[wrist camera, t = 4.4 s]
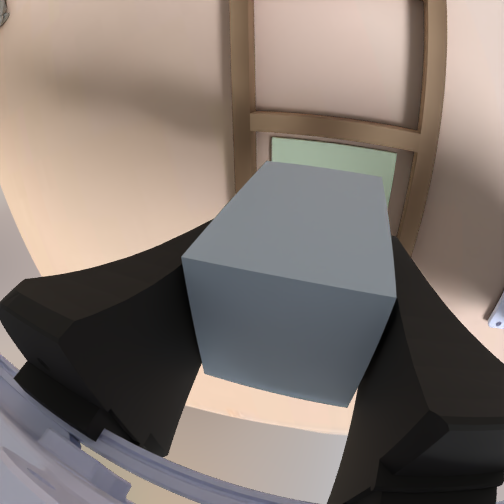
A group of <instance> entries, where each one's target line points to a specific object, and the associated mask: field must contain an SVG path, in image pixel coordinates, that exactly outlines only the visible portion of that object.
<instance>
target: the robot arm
mask: <svg viewBox="0 0 504 504" xmlns="http://www.w3.org/2000/svg"><path fill="white" fill-rule="evenodd" d="M212 221H213V219H212V220H210V221H208V222H206V223H204V224H202V225H200V226H198V227H196V228H194V229H193V230H191V231H189V232H187V233H184V234H182V235H180V236H178V237H176V238H174V239H172V240H169V241H167V242H165V243H163V244H161V245H158V246H156V247H154V248H151V249H149V250H146V251H144V252H141V253H138V254H136V255H133V256H130V257H127V258H124V259H121V260H117V261H114V262H111V263H107V264H104V265H101V266H97V267H93V268H89V269H85V270H80V271H75V272H71V273H66V274H60V275H53V276H46V277H38V278H30V279H25V280H23V281H22V282H20V283H19V284H18V285H17V286H16V287H15V288H14V289H13V290H12V291H11V292H10V293H9V294H8V295H6V296H5V297H4V298H3V299H2V300H1V301H0V320H1V323H2V325H3V326H4V328H5V329H6V331H7V333H8V334H9V336H10V337H11V339H12V340H13V341H14V343H15V344H16V346H17V347H18V349H19V350H20V351H21V353H22V354H23V355H24V357H25V358H26V359H27V362H26V363H25V365H24V366H23V367H22V368H21V369H20V370H19V369H17V368H16V367H15V366H14V365H13V364H11V363H10V362H9V361H8V360H7V359H6V358H5V357H3V356H2V355H1V354H0V504H135V503H133V502H132V501H130V500H128V499H126V495H127V493H128V492H129V490H130V488H131V484H130V483H129V482H127V481H126V480H124V479H123V478H121V477H119V476H118V475H116V474H115V473H113V472H112V471H110V470H109V469H108V468H106V467H105V466H104V465H102V464H101V463H100V462H99V461H97V460H96V459H94V458H93V457H91V456H90V455H88V454H87V453H85V452H84V451H83V450H81V445H80V443H82V444H83V445H85V446H86V447H88V448H90V449H91V450H93V451H95V452H96V453H98V454H99V455H101V456H103V457H104V458H106V459H108V460H109V461H111V462H113V463H115V464H116V465H118V466H120V467H122V468H123V469H126V470H127V471H129V472H131V473H133V474H135V475H137V476H139V477H141V478H143V479H145V480H147V481H149V482H151V483H153V484H155V485H157V486H159V487H162V488H164V489H166V490H169V491H171V492H173V493H175V494H178V495H180V496H183V497H185V498H188V499H190V500H193V501H195V502H198V503H201V504H316V503H311V502H305V501H300V500H294V499H290V498H285V497H280V496H276V495H271V494H268V493H264V492H260V491H256V490H252V489H248V488H245V487H242V486H238V485H235V484H232V483H228V482H225V481H222V480H219V479H216V478H213V477H210V476H207V475H205V474H202V473H199V472H197V471H194V470H191V469H189V468H186V467H183V466H181V465H179V464H176V463H173V462H171V461H169V460H167V459H165V458H162V457H165V456H167V455H168V453H169V450H170V446H171V443H172V440H173V437H174V434H175V431H176V428H177V425H178V422H179V419H180V417H181V414H182V411H183V408H184V406H185V403H186V400H187V398H188V395H189V393H190V390H191V388H192V385H193V383H194V380H195V378H196V375H197V373H198V371H199V368H200V366H201V364H202V360H201V356H200V351H199V347H198V342H197V337H196V333H195V328H194V323H193V318H192V313H191V308H190V303H189V298H188V292H187V287H186V282H185V276H184V270H183V265H182V259H181V257H182V255H183V254H184V253H185V252H186V251H187V249H188V248H189V247H190V246H191V245H192V244H193V242H194V241H195V240H196V239H197V238H198V237H199V236H200V234H201V233H202V232H203V231H204V230H205V229H206V227H207V226H208V225H209V224H210V223H211V222H212ZM391 241H392V250H393V259H394V270H395V282H396V297H397V298H396V300H395V303H394V306H393V308H392V311H391V314H390V316H389V319H388V321H387V324H386V326H385V328H384V331H383V333H382V336H381V338H380V340H379V343H378V345H377V347H376V350H375V352H374V354H373V356H372V358H371V361H370V363H369V365H368V367H367V369H366V371H365V373H364V376H363V378H362V380H361V382H360V384H359V386H358V390H357V396H356V401H355V406H354V411H353V416H352V420H351V425H350V429H349V433H348V438H347V441H346V445H345V449H344V453H343V456H342V460H341V463H340V467H339V470H338V473H337V476H336V479H335V483H334V485H333V488H332V491H331V495H330V497H329V499H328V502H327V504H504V501H499V502H496V495H497V486H500V485H502V484H503V482H504V364H503V363H502V362H501V361H500V360H499V359H498V358H496V357H495V356H494V355H493V354H492V353H491V352H490V351H489V350H488V349H487V348H486V347H484V346H483V345H482V344H481V343H480V342H479V341H478V340H477V339H476V338H475V337H474V336H473V335H472V334H471V333H470V332H469V331H468V329H467V328H466V327H465V326H464V325H463V324H462V323H461V322H460V321H459V320H458V319H457V317H456V316H455V315H454V314H453V313H452V312H451V311H450V309H449V308H448V307H447V306H446V305H445V304H444V302H443V301H442V300H441V299H440V297H439V296H438V295H437V293H436V292H435V291H434V289H433V288H432V287H431V286H430V284H429V283H428V281H427V280H426V279H425V277H424V276H423V275H422V273H421V272H420V270H419V269H418V267H417V266H416V265H415V263H414V262H413V260H412V259H411V257H410V256H409V254H408V253H407V251H406V250H405V248H404V247H403V245H402V244H401V242H400V241H399V239H398V238H397V237H396V236H391ZM488 325H489V327H492V328H501V329H504V292H503V294H502V296H501V298H500V300H499V301H498V303H497V305H496V307H495V309H494V310H493V312H492V314H491V316H490V317H489V319H488Z"/></svg>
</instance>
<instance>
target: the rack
mask: <svg viewBox="0 0 504 504" xmlns="http://www.w3.org/2000/svg"><path fill="white" fill-rule="evenodd" d="M421 1H424V62H423V79H422V92H421V103H420V112H419V121H418V129H417V130H413V129H408V128H403V127H398V126H392V125H387V124H381V123H375V122H369V121H362V120H355V119H348V118H340V117H332V116H323V115H312V114H301V113H288V112H271V111H256V106H255V45H254V0H229V11H230V52H231V86H232V115H233V142H234V167H235V191H236V194H237V193H238V191H239V190H240V189H241V188H242V187H243V186H244V185H245V184H246V183H247V182H248V181H249V179H250V178H251V177H252V176H253V175H254V174H255V173H256V131H258V132H274V133H287V134H298V135H308V136H318V137H326V138H335V139H342V140H350V141H356V142H363V143H369V144H376V145H381V146H387V147H393V148H398V149H403V150H408V151H413V152H414V156H413V162H412V168H411V174H410V179H409V184H408V190H407V195H406V199H405V204H404V209H403V213H402V217H401V222H400V226H399V230H398V234H397V238H398V239H399V241H400V242H401V244H402V245H403V247H404V248H405V250H406V251H407V253H408V254H409V256H410V257H411V255H412V252H413V248H414V245H415V242H416V238H417V234H418V231H419V227H420V223H421V220H422V216H423V212H424V208H425V204H426V199H427V195H428V191H429V186H430V182H431V177H432V172H433V167H434V161H435V156H436V150H437V144H438V138H439V131H440V124H441V117H442V108H443V99H444V89H445V76H446V58H447V4H446V0H421ZM396 157H397V153H394V152H389V151H383V150H377V149H371V148H365V147H359V146H352V145H345V144H337V143H329V142H321V141H312V140H303V139H292V138H281V137H272V161H273V162H282V163H291V164H299V165H307V166H315V167H322V168H329V169H336V170H343V171H349V172H355V173H361V174H367V175H373V176H378V177H382V181H383V186H384V192H385V198H386V204H387V209H388V204H389V199H390V193H391V188H392V182H393V176H394V170H395V164H396Z"/></svg>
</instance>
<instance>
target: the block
mask: <svg viewBox="0 0 504 504" xmlns="http://www.w3.org/2000/svg"><path fill="white" fill-rule="evenodd" d="M181 259H182V265H183V270H184V276H185V282H186V287H187V292H188V298H189V303H190V308H191V313H192V318H193V323H194V328H195V333H196V337H197V342H198V347H199V351H200V356H201V360H202V365H203V369H204V373H205V374H207V375H211V376H214V377H217V378H221V379H224V380H227V381H231V382H234V383H238V384H241V385H245V386H249V387H253V388H256V389H260V390H264V391H268V392H272V393H276V394H281V395H285V396H289V397H294V398H299V399H303V400H308V401H313V402H318V403H323V404H329V405H334V406H340V407H346V408H347V407H348V405H349V403H350V401H351V400H352V398H353V396H354V394H355V392H356V390H357V388H358V386H359V384H360V382H361V380H362V378H363V376H364V373H365V371H366V369H367V367H368V365H369V363H370V361H371V358H372V356H373V354H374V352H375V350H376V347H377V345H378V343H379V340H380V338H381V336H382V333H383V331H384V328H385V326H386V324H387V321H388V319H389V316H390V314H391V311H392V308H393V306H394V303H395V300H396V298H397V297H396V282H395V270H394V259H393V250H392V241H391V233H390V225H389V218H388V211H387V204H386V198H385V192H384V186H383V181H382V177H378V176H373V175H367V174H361V173H355V172H349V171H343V170H336V169H329V168H322V167H315V166H307V165H299V164H291V163H282V162H273V161H266V162H265V163H264V164H263V165H262V166H261V168H260V169H259V170H258V171H257V172H256V173H255V174H254V175H253V176H252V177H251V178H250V179H249V181H248V182H247V183H246V184H245V185H244V186H243V187H242V188H241V189H240V190H239V191H238V193H237V194H236V195H235V196H234V197H233V198H232V199H231V200H230V201H229V203H228V204H227V205H226V206H225V207H224V208H223V209H222V210H221V212H220V213H219V214H218V215H217V216H216V217H215V218H214V219H213V221H212V222H211V223H210V224H209V225H208V226H207V227H206V229H205V230H204V231H203V232H202V233H201V234H200V236H199V237H198V238H197V239H196V240H195V241H194V242H193V244H192V245H191V246H190V247H189V248H188V249H187V251H186V252H185V253H184V254H183V255H182V257H181Z"/></svg>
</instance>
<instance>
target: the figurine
mask: <svg viewBox="0 0 504 504" xmlns="http://www.w3.org/2000/svg"><path fill="white" fill-rule="evenodd" d="M6 9H7V7H6V4H5V1H4V0H0V25H2V24H3V23H4V22H5V21H6V20H7V18H8V17H9V13H6Z"/></svg>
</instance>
